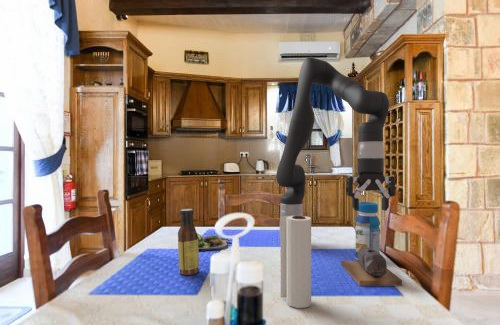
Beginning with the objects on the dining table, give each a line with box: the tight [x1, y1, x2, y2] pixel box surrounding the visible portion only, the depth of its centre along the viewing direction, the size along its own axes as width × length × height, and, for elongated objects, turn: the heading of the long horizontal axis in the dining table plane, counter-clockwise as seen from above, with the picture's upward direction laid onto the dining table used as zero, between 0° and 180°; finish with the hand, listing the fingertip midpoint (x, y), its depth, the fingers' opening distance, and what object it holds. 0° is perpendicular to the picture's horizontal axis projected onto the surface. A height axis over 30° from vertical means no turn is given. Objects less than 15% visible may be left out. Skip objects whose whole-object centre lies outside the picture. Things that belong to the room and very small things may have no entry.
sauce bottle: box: [177, 208, 200, 276], centre depth 98 cm, size 6×6×20 cm
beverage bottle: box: [354, 201, 381, 261], centre depth 110 cm, size 8×8×20 cm
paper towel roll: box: [280, 215, 312, 309], centre depth 78 cm, size 7×6×21 cm
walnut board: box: [340, 260, 403, 287], centre depth 96 cm, size 12×17×2 cm
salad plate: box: [197, 233, 232, 252], centre depth 130 cm, size 19×18×5 cm
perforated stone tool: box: [357, 247, 388, 276], centre depth 95 cm, size 15×5×7 cm, turn 0°
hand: (370, 210), depth 95 cm, fingers open, 8 cm apart
